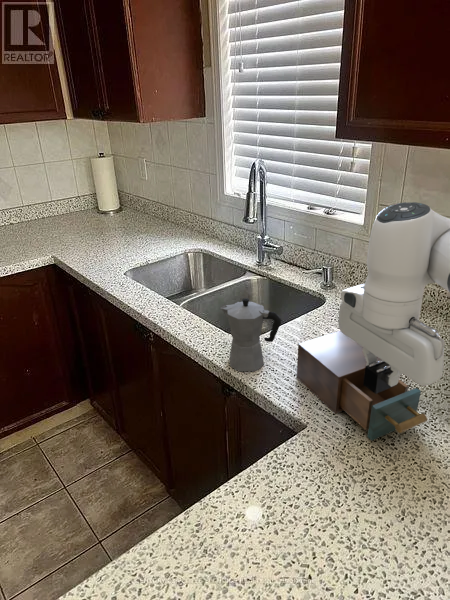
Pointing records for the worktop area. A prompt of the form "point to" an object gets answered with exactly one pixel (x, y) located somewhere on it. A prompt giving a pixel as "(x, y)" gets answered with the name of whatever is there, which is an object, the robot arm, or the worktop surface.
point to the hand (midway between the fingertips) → (381, 376)
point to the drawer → (380, 406)
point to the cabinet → (329, 365)
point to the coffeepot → (248, 333)
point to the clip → (377, 376)
